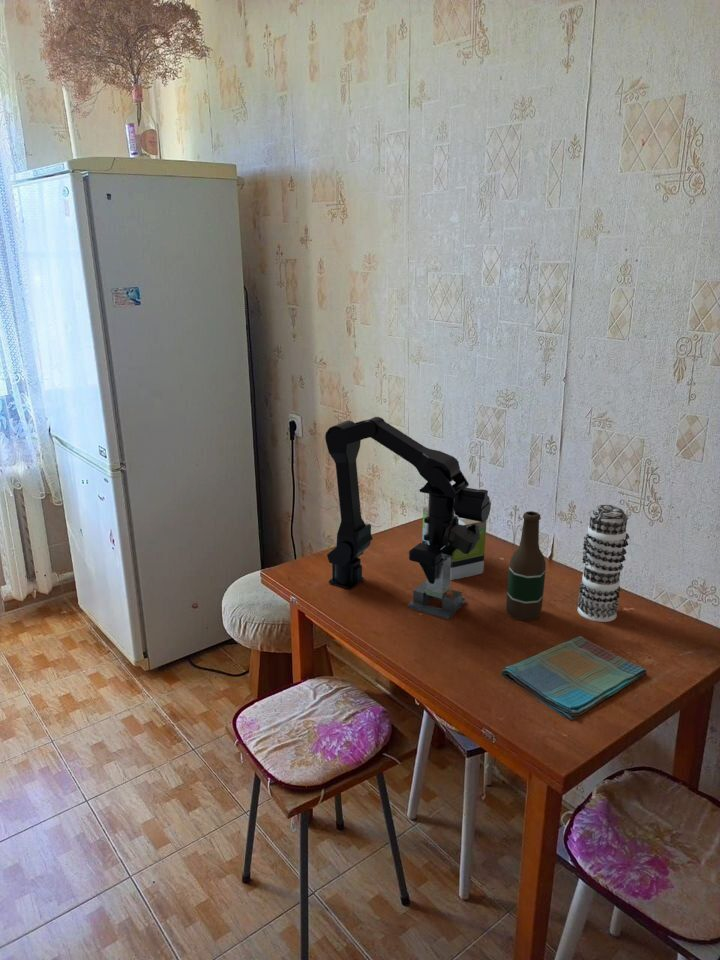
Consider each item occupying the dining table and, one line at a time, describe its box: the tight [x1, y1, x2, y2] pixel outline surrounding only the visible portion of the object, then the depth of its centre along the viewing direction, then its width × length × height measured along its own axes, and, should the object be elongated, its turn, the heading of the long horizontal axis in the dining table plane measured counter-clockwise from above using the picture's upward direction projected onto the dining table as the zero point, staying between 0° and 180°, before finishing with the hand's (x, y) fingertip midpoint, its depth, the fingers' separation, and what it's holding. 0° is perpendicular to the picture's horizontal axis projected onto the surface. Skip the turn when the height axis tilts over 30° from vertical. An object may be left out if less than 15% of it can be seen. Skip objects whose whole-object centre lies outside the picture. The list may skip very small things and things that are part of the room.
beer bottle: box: [505, 511, 547, 622], centre depth 157 cm, size 8×8×24 cm
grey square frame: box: [407, 581, 467, 620], centre depth 164 cm, size 10×9×4 cm
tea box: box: [421, 506, 487, 581], centre depth 182 cm, size 15×10×15 cm
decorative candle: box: [577, 504, 630, 623], centre depth 157 cm, size 9×9×25 cm
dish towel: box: [501, 635, 647, 721], centre depth 138 cm, size 17×23×2 cm
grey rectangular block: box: [425, 554, 451, 599], centre depth 162 cm, size 4×4×9 cm
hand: (438, 577), depth 162 cm, fingers open, 6 cm apart
